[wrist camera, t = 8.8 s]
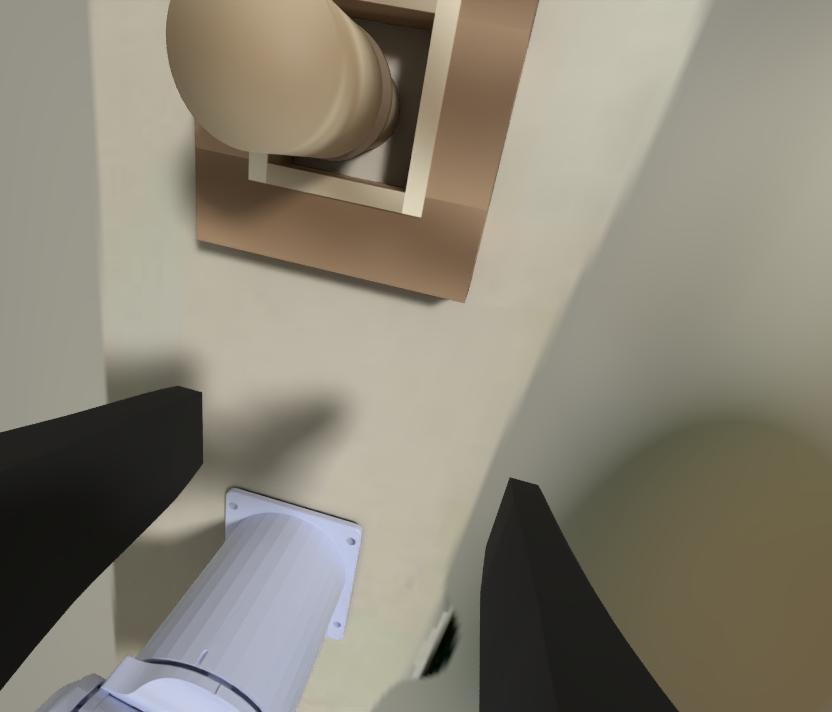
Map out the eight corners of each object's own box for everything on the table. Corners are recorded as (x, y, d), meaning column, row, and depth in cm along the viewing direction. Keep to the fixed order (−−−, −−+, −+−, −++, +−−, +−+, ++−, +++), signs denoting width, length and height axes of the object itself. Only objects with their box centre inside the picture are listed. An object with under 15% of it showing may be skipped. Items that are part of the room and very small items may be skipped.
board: (468, 290, 18) (464, 303, 17) (225, 233, 20) (195, 239, 18) (559, -83, 14) (567, -124, 12) (229, -131, 15) (187, -176, 13)
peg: (399, 173, 17) (320, 173, 10) (306, 149, 18) (164, 131, 10) (423, 58, 16) (349, -41, 8) (320, 33, 16) (163, -84, 9)
